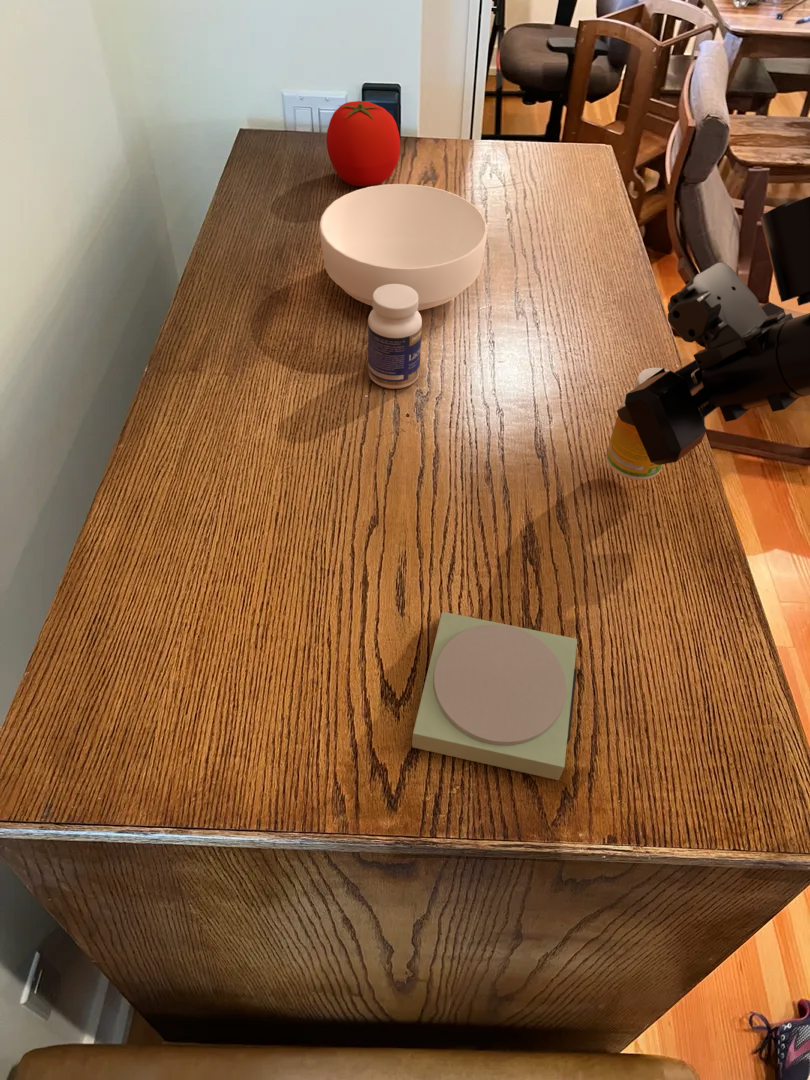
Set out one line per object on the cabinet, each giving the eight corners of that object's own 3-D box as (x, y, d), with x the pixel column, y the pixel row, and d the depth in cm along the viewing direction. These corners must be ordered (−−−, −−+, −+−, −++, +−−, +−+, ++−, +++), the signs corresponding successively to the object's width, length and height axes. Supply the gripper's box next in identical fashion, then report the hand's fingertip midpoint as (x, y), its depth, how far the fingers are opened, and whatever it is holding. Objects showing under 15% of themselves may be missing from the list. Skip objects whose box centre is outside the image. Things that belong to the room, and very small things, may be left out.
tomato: (363, 157, 119) (362, 81, 110) (413, 181, 114) (415, 103, 106) (312, 180, 114) (307, 101, 105) (362, 205, 109) (361, 126, 101)
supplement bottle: (650, 490, 71) (681, 409, 64) (596, 468, 73) (620, 387, 66) (669, 456, 74) (700, 375, 67) (617, 436, 76) (642, 354, 69)
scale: (574, 654, 63) (582, 634, 61) (561, 781, 56) (569, 764, 54) (440, 627, 64) (442, 606, 62) (411, 747, 57) (412, 729, 55)
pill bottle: (419, 391, 84) (423, 312, 76) (366, 390, 83) (365, 310, 76) (419, 359, 87) (423, 280, 80) (369, 357, 87) (368, 278, 79)
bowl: (293, 277, 97) (287, 212, 91) (415, 231, 105) (418, 169, 99) (385, 354, 88) (386, 289, 81) (512, 298, 95) (522, 234, 89)
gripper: (826, 211, 58) (665, 281, 72) (683, 301, 50) (532, 361, 64) (874, 345, 61) (710, 389, 74) (746, 452, 52) (587, 479, 66)
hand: (639, 401), depth 69 cm, fingers closed on supplement bottle, 5 cm apart
